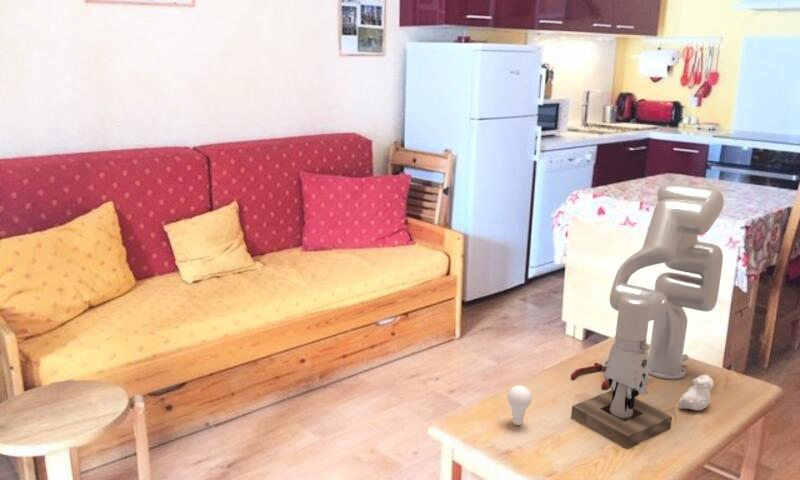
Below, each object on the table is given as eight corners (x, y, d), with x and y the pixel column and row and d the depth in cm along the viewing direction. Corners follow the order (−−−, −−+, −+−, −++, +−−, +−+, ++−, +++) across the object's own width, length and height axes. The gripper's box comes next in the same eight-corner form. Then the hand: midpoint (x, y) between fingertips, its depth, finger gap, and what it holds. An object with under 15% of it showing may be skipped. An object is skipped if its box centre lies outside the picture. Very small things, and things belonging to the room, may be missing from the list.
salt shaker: (604, 418, 181) (609, 373, 177) (615, 411, 185) (620, 367, 181) (625, 427, 177) (630, 381, 173) (635, 419, 181) (641, 374, 177)
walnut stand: (614, 400, 193) (615, 388, 192) (670, 428, 179) (672, 416, 178) (571, 417, 183) (572, 405, 182) (627, 448, 169) (628, 436, 168)
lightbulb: (532, 423, 179) (535, 385, 177) (524, 433, 174) (527, 394, 172) (510, 416, 182) (513, 379, 180) (502, 426, 177) (504, 388, 174)
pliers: (629, 369, 214) (630, 361, 213) (605, 392, 198) (606, 384, 198) (595, 359, 221) (595, 351, 220) (568, 380, 205) (569, 372, 204)
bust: (682, 421, 187) (711, 401, 179) (665, 397, 190) (692, 377, 183) (705, 408, 194) (734, 389, 187) (688, 385, 198) (715, 366, 190)
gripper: (667, 350, 171) (657, 416, 175) (613, 329, 183) (606, 391, 188) (648, 357, 166) (639, 424, 171) (595, 334, 179) (588, 398, 184)
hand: (622, 406), depth 180 cm, fingers closed on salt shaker, 3 cm apart
